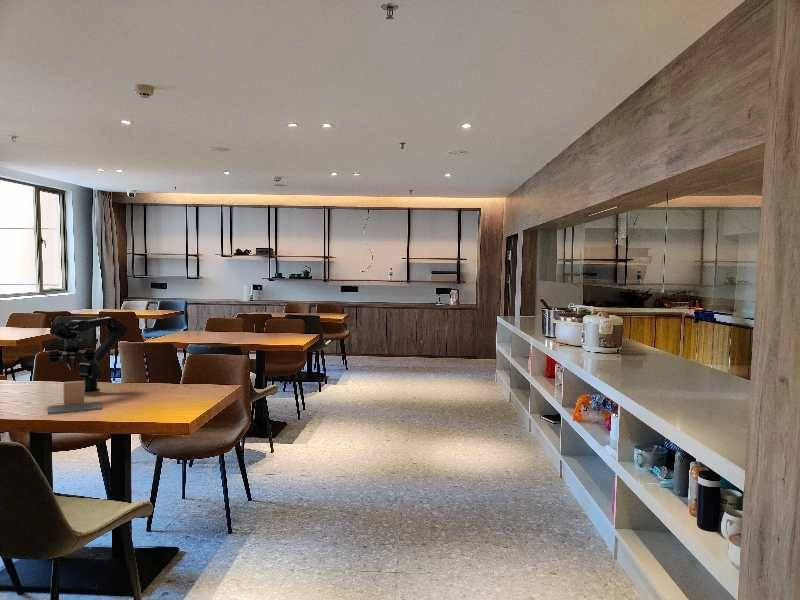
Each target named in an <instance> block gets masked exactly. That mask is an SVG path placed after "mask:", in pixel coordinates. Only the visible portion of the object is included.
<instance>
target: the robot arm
mask: <svg viewBox="0 0 800 600" xmlns="http://www.w3.org/2000/svg"><path fill="white" fill-rule="evenodd" d="M104 326H105V328H106V330H107V337H105V339H104V340H103V341H102V342H101V344H100V345H99V346H98V348H97V349H94V348H84V349H85V350H84V351H80V347H81V346H83V344H84V340H83V337H82V336H80V334H78V333H84V332H87V331H89V330H90V329H92V328H97V327H104ZM49 334H50V335H52V336H54V337H55V338H57V339H58V340H63V341H64V351H62V353H60V352H59V351H60V350H58V349H56V350H55V349H53V350H49V351H48V362H49V363H58V362H59V359H61V362H62V363H63V364H65V365H66V366H67V367H68V368H69V370H70V371H72V370H73V371H75V370H76V368H77V366H78V368H77V371H78V374H79V377H80V379H82V378H83V379H84V380H83V381H84V392H93V391H100V388H99V387H98V379H101V378H102V376H103V373H102V372H101V371H100V363H101V362H102V361H103V359H104V357H106V355H107V354H108V353H109V352H110V350H111V349H112V348H113V347H114V345H115V344H116V343H117V342H118V341H120V340H122V339H124V337H126V336H127V334H128V327H127V326H126V325H124V324H123V323H122V322H120V321H118V320H117V319H115V317H113V316H105V317H100V318H93V319H88V320H85V319H83V320H81V319H80V320H79V319H72V320H70V321H69V323H67V324H65V323H63V322H61V321H57V323H55V324H54V325H52V326H51V327H50V329H49ZM83 357H84V358H83ZM72 358H73V359H74V360H73V367H72V362H71V359H72Z"/></svg>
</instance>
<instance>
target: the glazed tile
mask: <svg viewBox="0 0 800 600" xmlns="http://www.w3.org/2000/svg"><path fill="white" fill-rule="evenodd" d="M62 387H63V405H69V404H80V403H85V391H84V388H85V387H84V380H75V381H74V380H73V381H63V386H62Z"/></svg>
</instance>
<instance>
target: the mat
mask: <svg viewBox="0 0 800 600" xmlns="http://www.w3.org/2000/svg"><path fill="white" fill-rule="evenodd" d="M94 410H103V406H102V403H101V401H92V402H84V403H80V404H69V405H64V404H58V405H48V406H47V415H53V414H65V413H75V412H84V411H85V412H86V411H94Z"/></svg>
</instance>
